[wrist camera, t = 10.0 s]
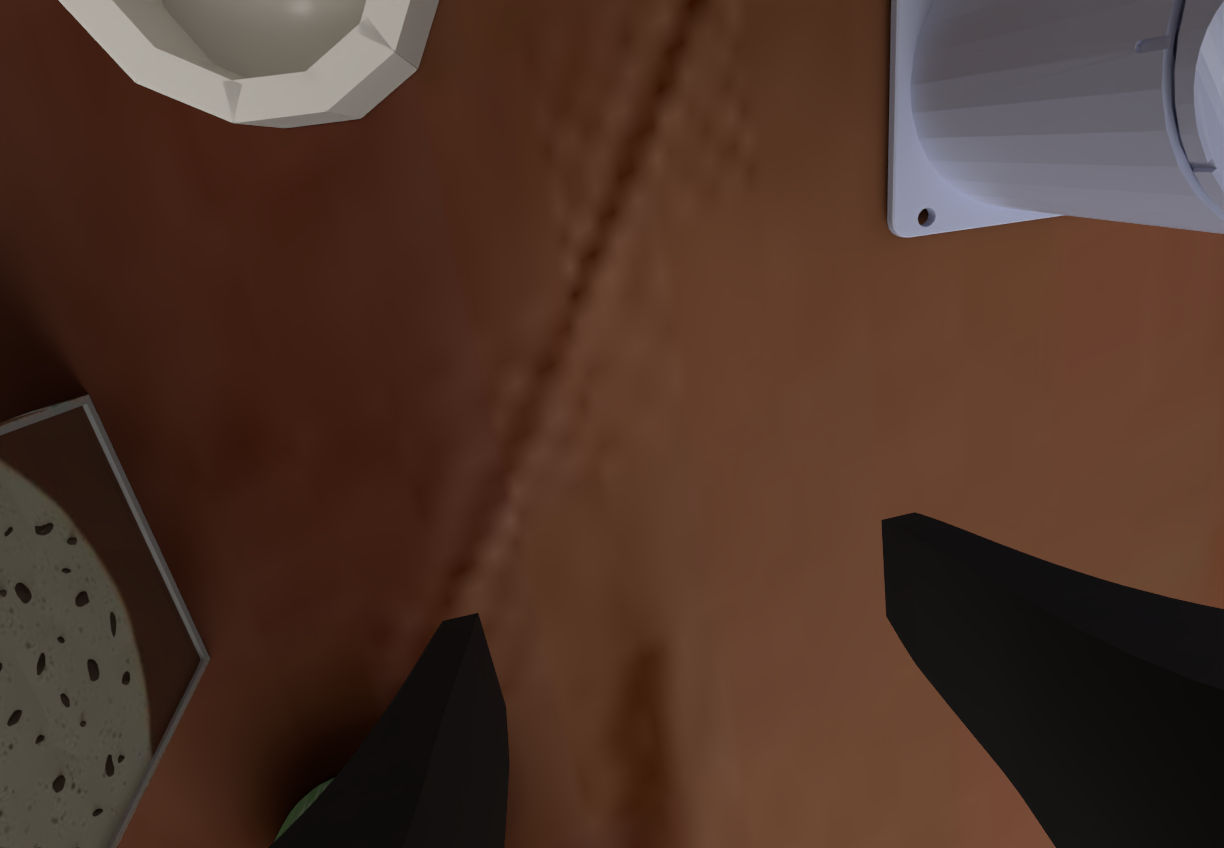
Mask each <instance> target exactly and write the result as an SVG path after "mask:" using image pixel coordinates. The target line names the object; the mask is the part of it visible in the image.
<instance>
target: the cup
mask: <svg viewBox="0 0 1224 848" xmlns="http://www.w3.org/2000/svg"><path fill="white" fill-rule="evenodd" d="M59 1H60V2H61V3H62V5H63V6H64V7H65V8H66V9H67V10H68V11H69V12H70V13H71V14H72V15H73V16H74V17H75V18H76V20H77V21H78V22H79V23H80V24H81V25H82V26H83V27H84V28H85V29H86V30H87V31H88V32H89V34H90V35H91V36H92V37H93V38H94V39H95V40H96V41H97V42H98V43H99V44H100V45H101V46H102V47H103V49H104V50H105V51H106V52H107V53H108V54H109V55H110V56H111V57H112V58H113V59H114V60H115V61H116V62H117V64H118V65H119V66H120V67H121V68H122V69H123V70H124V71H125V72H126V73H127V74H128V75H129V76H130V78H131V79H132V80H133V81H134V82H136V83H137V84H140V85H142V86H144V87H147V88H149V89H152V90H154V91H157V92H159V93H161V94H164V95H166V96H169V97H171V98H173V99H176V100H178V101H181V102H183V103H186V104H188V105H190V106H193V107H195V108H198V109H200V110H203V111H205V112H207V113H210V114H212V115H215V116H217V117H220V118H222V119H224V120H227V121H229V122H232V123H237V124H248V125H258V126H269V127H279V128H291V127H299V126H306V125H314V124H322V123H330V122H338V121H346V120H354V119H360V118H362V117H363V116H365V115H366V114H367V113H368V112H369V111H370V110H372V109H373V108H374V107H375V106H376V105H377V104H378V103H380V102H381V101H382V100H383V99H384V98H385V97H387V96H388V95H389V94H390V93H391V92H392V91H393V90H395V89H396V88H397V87H398V86H399V85H400V84H402V83H403V82H404V81H405V80H406V79H407V78H409V77H410V76H411V75H412V74H413V73H414V72H415V71H417V68H418V67H419V64H420V61H421V58H422V54H423V51H424V48H425V45H426V41H427V38H428V35H429V32H430V28H431V25H432V22H433V19H434V15H435V12H436V9H437V6H438V2H439V0H59Z"/></svg>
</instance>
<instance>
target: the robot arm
mask: <svg viewBox="0 0 1224 848" xmlns="http://www.w3.org/2000/svg"><path fill="white" fill-rule="evenodd" d="M925 208H926V209H927V211H928V218H927V221H926V222H925V223H924V224H922V225H920V224H919V223H918V216H919V213H920V212H921V211H922V210H923V209H925ZM1063 215H1069V216H1077V217H1086V218H1094V219H1103V220H1111V221H1120V222H1128V223H1137V224H1145V225H1154V226H1162V227H1171V228H1179V229H1188V230H1196V231H1205V232H1213V233H1221V234H1224V0H891V43H890V97H889V150H888V204H887V223H888V228H889V229H890V231H891V232H892V233H893V234H895V235H896V236H900V237H915V236H922V235H929V234H936V233H943V232H950V231H957V230H964V229H971V228H978V227H985V226H992V225H999V224H1006V223H1013V222H1021V221H1028V220H1035V219H1042V218H1049V217H1056V216H1063ZM882 539H883V559H884V579H885V599H886V616H887V618H888V620H889V621H890V623H891V625H892V626H893V628H894V630H895V631H896V633H897V635H898V637H899V638H900V640H901V642H902V643H903V645H904V646H905V648H906V650H907V651H908V653H909V654H910V656H911V657H912V659H913V661H914V662H915V664H916V665H917V666H918V668H919V669H920V670H921V671H922V673H923V674H924V675H925V676H926V678H927V679H928V680H929V681H930V683H931V684H932V685H933V686H934V688H935V689H936V690H937V691H938V693H939V694H940V695H941V696H942V698H943V699H944V700H945V701H946V702H947V704H948V705H949V706H950V707H951V709H952V710H953V711H954V712H955V713H956V715H957V716H958V717H959V718H960V720H961V721H962V722H963V723H964V724H965V726H966V727H967V728H968V729H969V730H970V732H971V733H972V734H973V735H974V737H975V738H976V739H977V740H978V741H979V743H980V744H981V745H982V746H983V748H984V749H985V750H986V751H987V752H988V754H989V755H990V756H991V757H992V759H993V760H994V761H995V762H996V763H997V765H998V766H999V767H1000V768H1001V770H1002V771H1003V772H1004V773H1005V775H1006V776H1007V777H1008V779H1009V780H1010V781H1011V783H1012V784H1013V785H1014V787H1015V788H1016V789H1017V791H1018V792H1019V793H1020V795H1021V796H1022V798H1023V799H1024V801H1025V802H1026V804H1027V805H1028V807H1029V808H1030V810H1031V811H1032V813H1033V814H1034V816H1035V817H1036V818H1037V820H1038V821H1039V823H1040V824H1041V826H1042V827H1043V829H1044V830H1045V832H1046V833H1047V835H1048V836H1049V838H1050V839H1051V841H1052V842H1053V844H1054V845H1055V847H1056V848H1224V609H1220V608H1215V607H1210V606H1205V605H1200V604H1196V603H1191V602H1187V601H1182V600H1178V599H1173V598H1169V597H1165V596H1162V595H1158V594H1154V593H1150V592H1146V591H1142V590H1138V589H1135V588H1131V587H1127V586H1123V585H1120V584H1116V583H1113V582H1109V581H1106V580H1102V579H1099V578H1096V577H1093V576H1090V575H1087V574H1084V573H1081V572H1077V571H1074V570H1071V569H1068V568H1065V567H1062V566H1059V565H1056V564H1053V563H1050V562H1048V561H1045V560H1042V559H1039V558H1036V557H1034V556H1031V555H1028V554H1025V553H1023V552H1020V551H1017V550H1015V549H1012V548H1009V547H1007V546H1004V545H1001V544H999V543H996V542H994V541H991V540H988V539H986V538H983V537H981V536H978V535H976V534H973V533H971V532H968V531H965V530H963V529H960V528H958V527H955V526H952V525H950V524H947V523H945V522H942V521H939V520H936V519H934V518H931V517H928V516H925V515H921V514H918V513H915V512H914V513H910V514H906V515H901V516H897V517H893V518H888V519H884V520H882ZM508 778H509V748H508V731H507V716H506V705H505V702H504V699H503V695H502V692H501V689H500V685H499V682H498V678H497V675H496V672H495V668H494V665H493V662H492V658H491V655H490V652H489V648H488V645H487V641H486V638H485V635H484V631H483V628H482V625H481V621H480V618H479V614H478V613H476V614H472V615H467V616H463V617H459V618H454V619H450V620H446V621H443V622H442V623H441V625H440V626H439V627H438V629H437V631H436V632H435V634H434V635H433V637H432V639H431V640H430V642H429V643H428V645H427V647H426V648H425V650H424V652H423V653H422V655H421V657H420V658H419V660H418V662H417V663H416V665H415V666H414V668H413V670H412V671H411V673H410V674H409V676H408V678H407V679H406V681H405V682H404V684H403V685H402V687H401V688H400V690H399V691H398V693H397V694H396V696H395V697H394V699H393V701H392V702H391V704H390V705H389V707H388V708H387V710H386V711H385V713H384V714H383V715H382V717H381V718H380V720H379V721H378V722H377V724H376V725H375V727H374V728H373V729H372V731H371V732H370V733H369V735H368V736H367V737H366V739H365V740H364V742H363V743H362V744H361V746H360V747H359V748H358V750H357V751H356V752H355V754H354V755H353V756H352V757H351V759H350V760H349V761H348V762H347V764H346V765H345V766H344V767H343V769H342V770H341V771H340V772H339V773H338V775H337V776H336V777H335V778H334V779H333V780H332V781H331V783H330V784H329V785H328V786H327V787H326V788H325V789H324V791H323V792H322V793H321V794H320V795H319V796H318V797H317V799H316V800H315V801H314V802H313V803H312V804H311V805H310V806H309V807H308V808H307V809H306V811H305V812H304V813H303V814H302V815H301V816H300V817H299V818H298V819H297V820H296V821H295V822H294V823H293V824H292V825H291V826H290V827H289V828H288V829H287V830H286V831H285V832H284V833H283V834H282V835H281V836H280V837H279V838H278V839H277V840H276V841H275V842H274V843H273V844H272V845H271V846H270V847H269V848H504V842H505V827H506V811H507V795H508Z"/></svg>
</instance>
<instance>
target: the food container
mask: <svg viewBox="0 0 1224 848" xmlns="http://www.w3.org/2000/svg"><path fill="white" fill-rule="evenodd" d="M209 661H210V657H209V655H208V653H207V651H206V648H205V646H204V644H203V642H202V640H201V638H200V635H199V633H198V631H197V629H196V627H195V625H194V622H193V620H192V618H191V616H190V614H189V611H188V609H187V607H186V605H185V603H184V601H183V598H182V596H181V594H180V592H179V590H178V588H177V585H176V583H175V581H174V579H173V577H172V575H171V572H170V570H169V568H168V566H167V564H166V562H165V559H164V557H163V555H162V553H161V551H160V548H159V546H158V544H157V542H156V540H155V538H154V535H153V533H152V531H151V529H150V527H149V525H148V522H147V520H146V518H145V516H144V514H143V512H142V509H141V507H140V505H139V503H138V501H137V499H136V496H135V494H134V492H133V490H132V488H131V485H130V483H129V481H128V479H127V477H126V475H125V472H124V470H123V468H122V466H121V464H120V462H119V459H118V457H117V455H116V453H115V451H114V449H113V446H112V444H111V442H110V440H109V438H108V436H107V433H106V431H105V429H104V427H103V425H102V423H101V420H100V418H99V416H98V414H97V412H96V409H95V407H94V405H93V403H92V401H91V399H90V396H89V394H87V395H84V396H80V397H77V398H73V399H70V400H66V401H62V402H59V403H55V404H52V405H48V406H45V407H42V408H40V409H37V410H34V411H31V412H28V413H25V414H23V415H20V416H17V417H14V418H11V419H8V420H6V421H3V422H0V848H117V847H118V845H119V843H120V841H121V839H122V837H123V835H124V833H125V831H126V829H127V827H128V825H129V823H130V820H131V818H132V816H133V814H134V812H135V810H136V808H137V806H138V804H139V802H140V800H141V798H142V796H143V794H144V792H145V790H146V788H147V786H148V784H149V782H150V780H151V778H152V776H153V774H154V772H155V770H156V768H157V766H158V764H159V762H160V760H161V758H162V756H163V754H164V752H165V750H166V748H167V746H168V744H169V742H170V740H171V738H172V736H173V734H174V732H175V730H176V728H177V726H178V724H179V722H180V720H181V718H182V716H183V714H184V711H185V709H186V707H187V705H188V703H189V701H190V699H191V697H192V695H193V693H194V691H195V689H196V687H197V685H198V683H199V681H200V679H201V677H202V675H203V673H204V671H205V669H206V667H207V665H208V663H209Z"/></svg>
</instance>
